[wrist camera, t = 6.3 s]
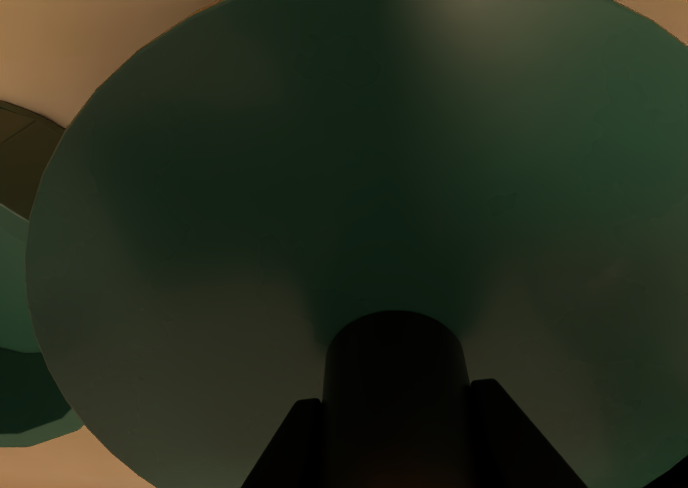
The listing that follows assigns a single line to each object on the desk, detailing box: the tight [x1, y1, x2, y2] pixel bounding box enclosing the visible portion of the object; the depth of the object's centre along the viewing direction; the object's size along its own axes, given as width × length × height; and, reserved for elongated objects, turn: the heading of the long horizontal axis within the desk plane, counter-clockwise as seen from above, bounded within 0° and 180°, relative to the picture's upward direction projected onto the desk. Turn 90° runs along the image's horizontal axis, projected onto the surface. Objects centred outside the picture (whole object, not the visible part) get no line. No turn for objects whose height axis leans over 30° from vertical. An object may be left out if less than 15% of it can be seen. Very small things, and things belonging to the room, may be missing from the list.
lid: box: [24, 0, 688, 488], centre depth 9 cm, size 14×14×6 cm
